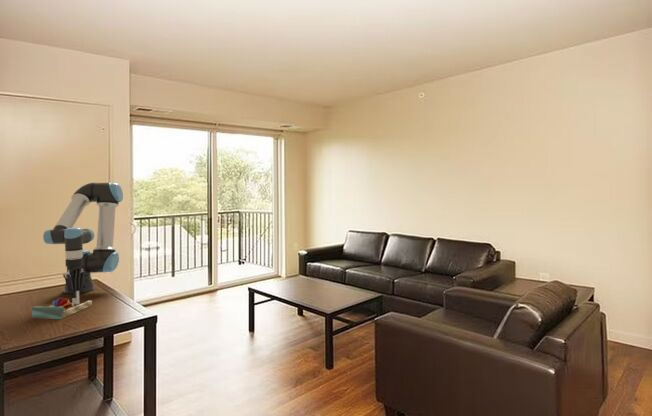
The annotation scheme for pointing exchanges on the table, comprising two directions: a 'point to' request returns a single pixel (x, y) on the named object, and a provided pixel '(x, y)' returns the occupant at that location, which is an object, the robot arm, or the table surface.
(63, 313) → the channel
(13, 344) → the table surface
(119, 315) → the table surface
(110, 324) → the table surface
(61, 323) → the table surface
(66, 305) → the rainbow disc toy
